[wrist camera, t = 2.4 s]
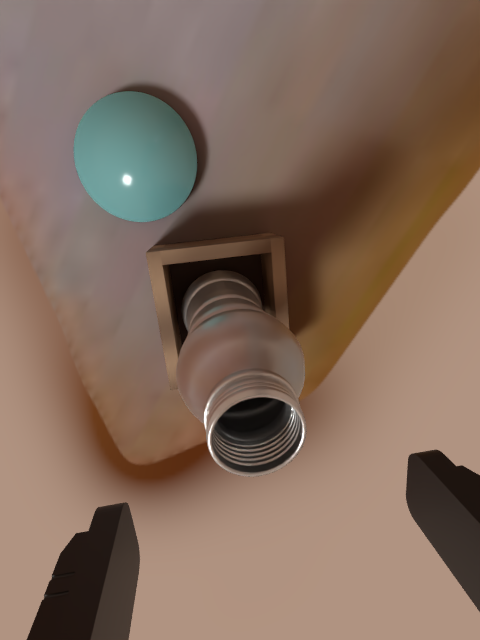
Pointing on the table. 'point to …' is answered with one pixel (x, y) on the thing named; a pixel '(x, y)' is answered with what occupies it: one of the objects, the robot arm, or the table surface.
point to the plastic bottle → (241, 375)
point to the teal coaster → (135, 156)
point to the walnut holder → (201, 250)
